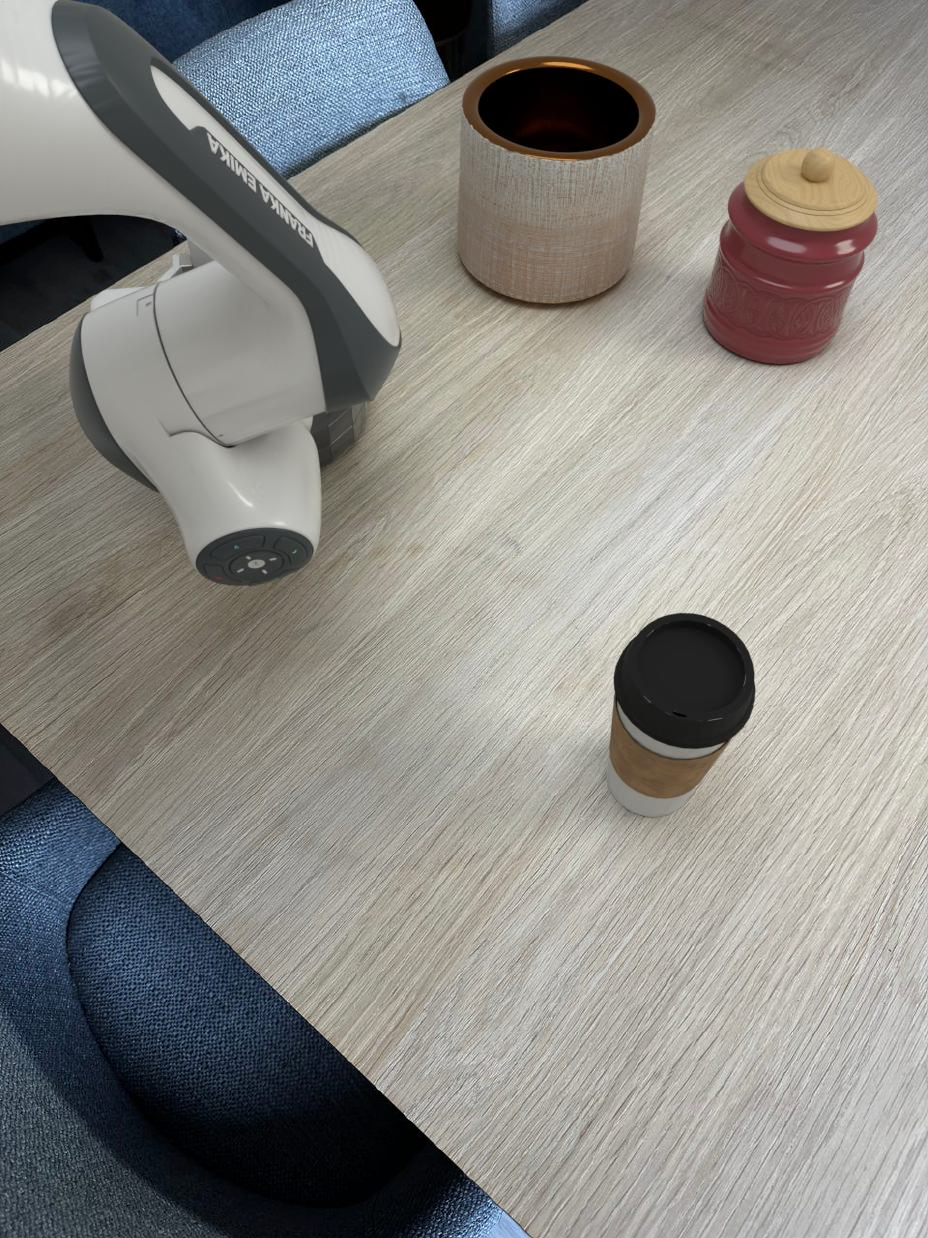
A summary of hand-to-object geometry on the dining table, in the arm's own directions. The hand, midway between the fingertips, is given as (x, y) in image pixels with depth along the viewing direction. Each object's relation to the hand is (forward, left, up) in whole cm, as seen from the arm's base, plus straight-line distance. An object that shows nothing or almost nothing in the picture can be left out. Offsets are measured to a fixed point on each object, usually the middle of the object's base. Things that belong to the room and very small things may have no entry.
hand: (235, 257), depth 78 cm
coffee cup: (+18, -43, -16) cm, 49 cm away
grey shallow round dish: (0, 0, -16) cm, 16 cm away
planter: (+32, +14, -16) cm, 39 cm away
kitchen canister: (+49, -2, -16) cm, 52 cm away
